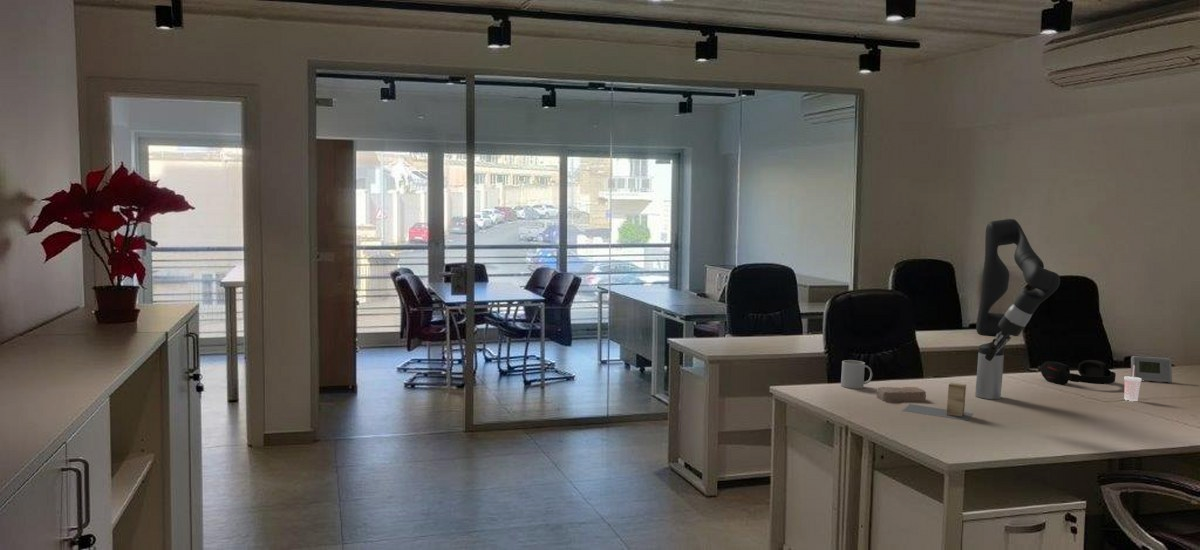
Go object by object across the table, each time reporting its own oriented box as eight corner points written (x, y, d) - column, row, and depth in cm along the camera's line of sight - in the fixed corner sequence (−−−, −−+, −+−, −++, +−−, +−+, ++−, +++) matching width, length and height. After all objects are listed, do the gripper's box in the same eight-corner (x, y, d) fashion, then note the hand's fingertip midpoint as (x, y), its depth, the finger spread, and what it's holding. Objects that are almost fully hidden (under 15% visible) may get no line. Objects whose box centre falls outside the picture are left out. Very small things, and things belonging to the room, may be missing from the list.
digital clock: (1130, 380, 391) (1132, 356, 390) (1127, 377, 399) (1129, 353, 398) (1173, 385, 384) (1175, 361, 383) (1170, 381, 392) (1172, 357, 391)
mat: (909, 405, 328) (909, 404, 328) (973, 414, 317) (973, 413, 317) (901, 411, 317) (901, 410, 317) (967, 421, 306) (967, 420, 306)
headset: (1056, 373, 403) (1057, 353, 402) (1124, 383, 384) (1125, 362, 383) (1033, 381, 382) (1035, 360, 381) (1104, 393, 363) (1106, 370, 362)
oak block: (949, 412, 317) (951, 382, 316) (964, 414, 314) (966, 384, 313) (946, 415, 313) (948, 384, 312) (961, 417, 310) (963, 386, 309)
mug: (837, 386, 358) (838, 361, 357) (847, 382, 365) (848, 358, 364) (862, 390, 351) (863, 365, 350) (872, 387, 358) (874, 362, 357)
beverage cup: (1128, 401, 347) (1131, 366, 346) (1118, 398, 353) (1121, 363, 352) (1143, 402, 347) (1146, 367, 346) (1133, 398, 353) (1136, 364, 352)
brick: (883, 402, 332) (884, 390, 332) (875, 397, 341) (876, 385, 340) (926, 403, 333) (927, 391, 333) (916, 398, 342) (917, 386, 341)
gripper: (1011, 310, 309) (984, 350, 316) (999, 315, 299) (972, 356, 306) (1030, 322, 305) (1003, 362, 313) (1019, 328, 295) (991, 369, 303)
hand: (987, 359), depth 309 cm, fingers closed
